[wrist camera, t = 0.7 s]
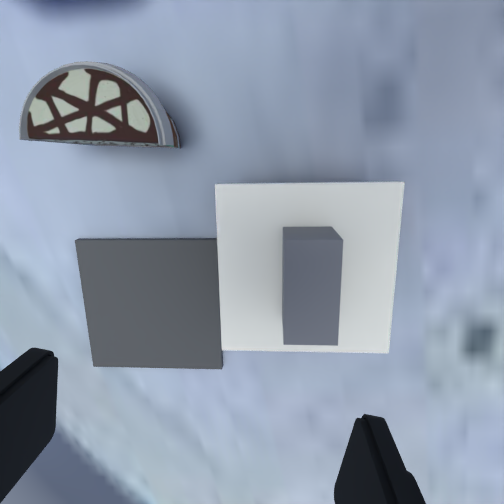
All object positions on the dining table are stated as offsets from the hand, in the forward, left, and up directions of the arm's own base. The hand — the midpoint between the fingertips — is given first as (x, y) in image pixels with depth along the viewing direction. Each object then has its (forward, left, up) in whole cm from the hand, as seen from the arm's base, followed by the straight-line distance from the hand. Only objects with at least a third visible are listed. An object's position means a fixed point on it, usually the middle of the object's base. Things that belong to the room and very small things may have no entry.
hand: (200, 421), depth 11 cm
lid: (-5, +2, -21) cm, 21 cm away
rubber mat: (+12, +9, -29) cm, 32 cm away
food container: (+12, -12, -29) cm, 34 cm away
